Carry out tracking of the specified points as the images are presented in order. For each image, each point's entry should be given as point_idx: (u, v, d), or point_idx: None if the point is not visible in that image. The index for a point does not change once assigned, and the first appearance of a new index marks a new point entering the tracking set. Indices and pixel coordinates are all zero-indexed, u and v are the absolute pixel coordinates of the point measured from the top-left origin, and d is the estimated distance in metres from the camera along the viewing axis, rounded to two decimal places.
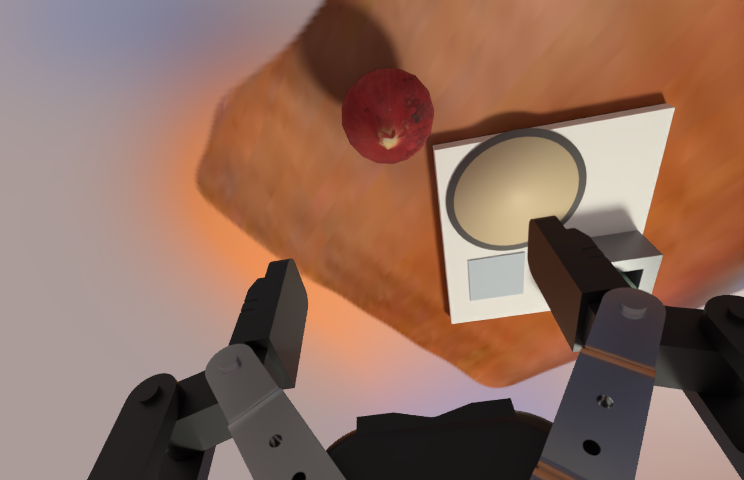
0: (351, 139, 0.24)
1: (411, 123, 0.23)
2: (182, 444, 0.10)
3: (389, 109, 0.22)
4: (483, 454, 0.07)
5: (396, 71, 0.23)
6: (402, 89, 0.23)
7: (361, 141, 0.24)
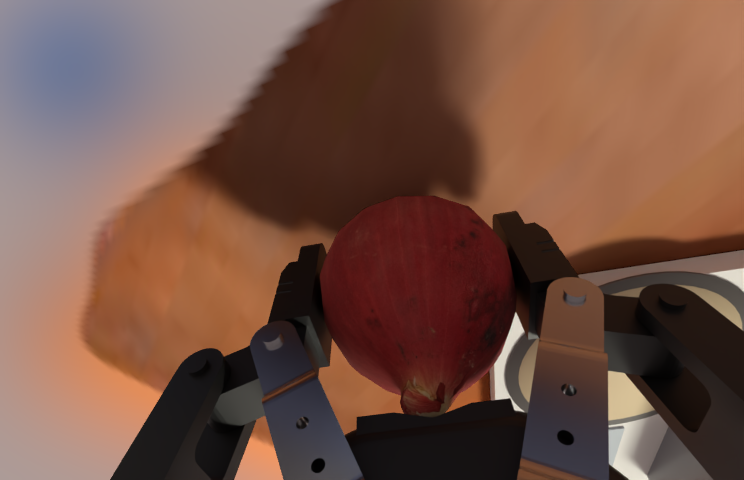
0: (340, 350, 0.11)
1: (481, 353, 0.10)
2: (223, 419, 0.10)
3: (431, 331, 0.09)
4: (483, 454, 0.07)
5: (440, 218, 0.10)
6: (460, 273, 0.09)
7: (361, 371, 0.11)
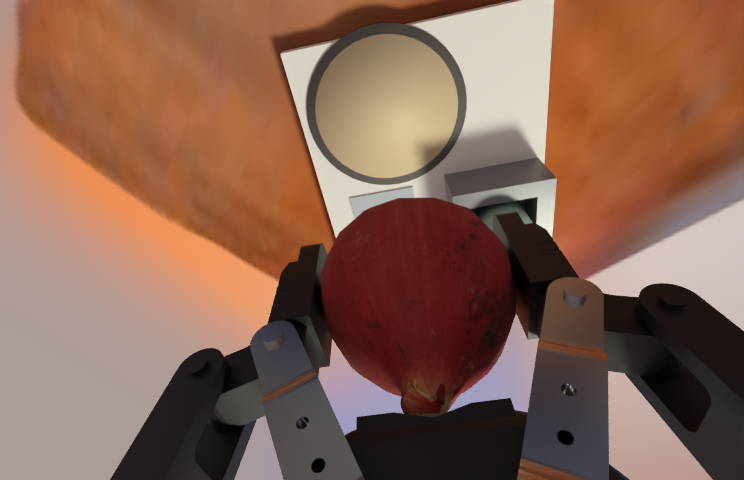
0: None
1: (481, 355, 0.10)
2: (223, 418, 0.10)
3: (431, 333, 0.09)
4: (483, 454, 0.07)
5: (440, 220, 0.10)
6: (459, 275, 0.10)
7: (362, 372, 0.11)
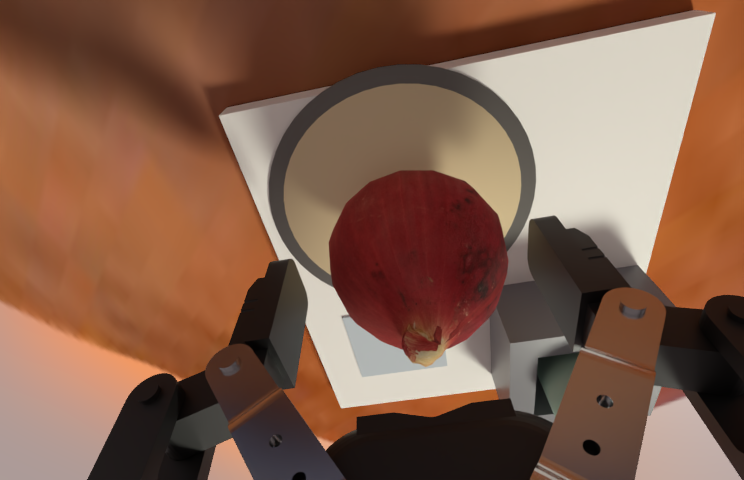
0: (347, 310, 0.12)
1: (474, 304, 0.11)
2: (182, 444, 0.10)
3: (429, 281, 0.10)
4: (483, 454, 0.07)
5: (438, 186, 0.11)
6: (455, 231, 0.11)
7: (366, 325, 0.12)
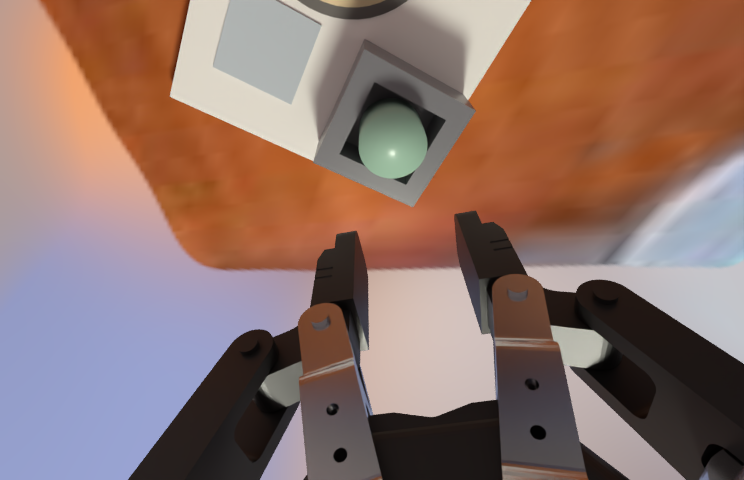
0: None
1: None
2: (267, 400, 0.10)
3: None
4: (483, 454, 0.07)
5: None
6: None
7: None
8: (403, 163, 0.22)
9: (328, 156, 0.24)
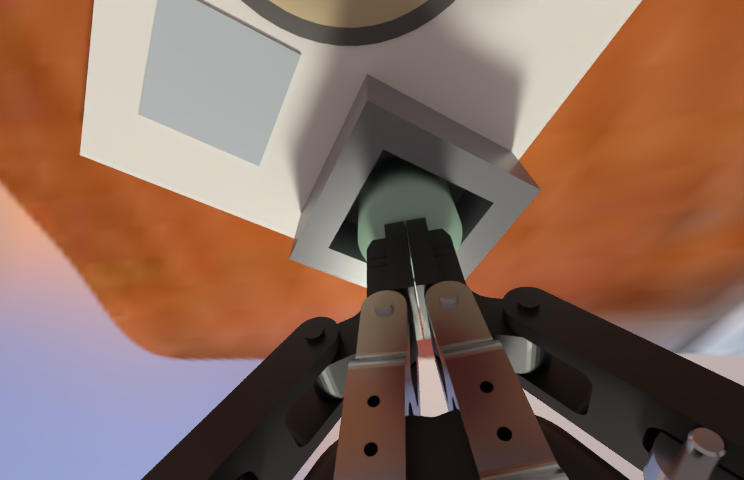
0: None
1: None
2: (323, 388, 0.10)
3: None
4: None
5: None
6: None
7: None
8: None
9: (311, 251, 0.16)
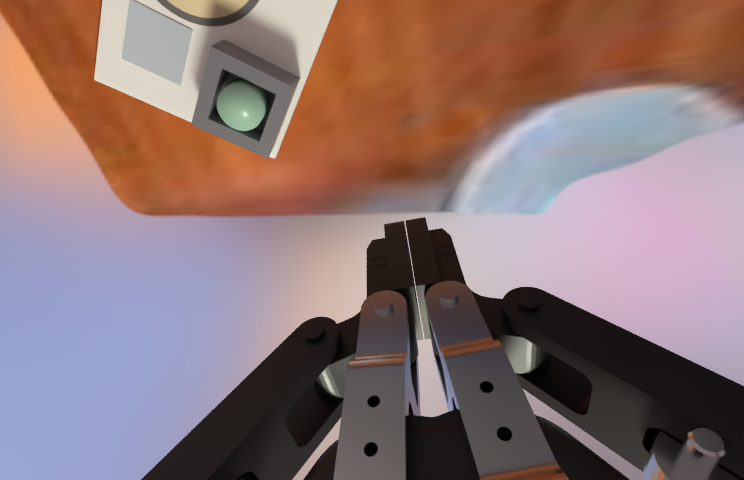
0: None
1: None
2: (323, 388, 0.10)
3: None
4: None
5: None
6: None
7: None
8: (249, 120, 0.34)
9: (200, 120, 0.34)
